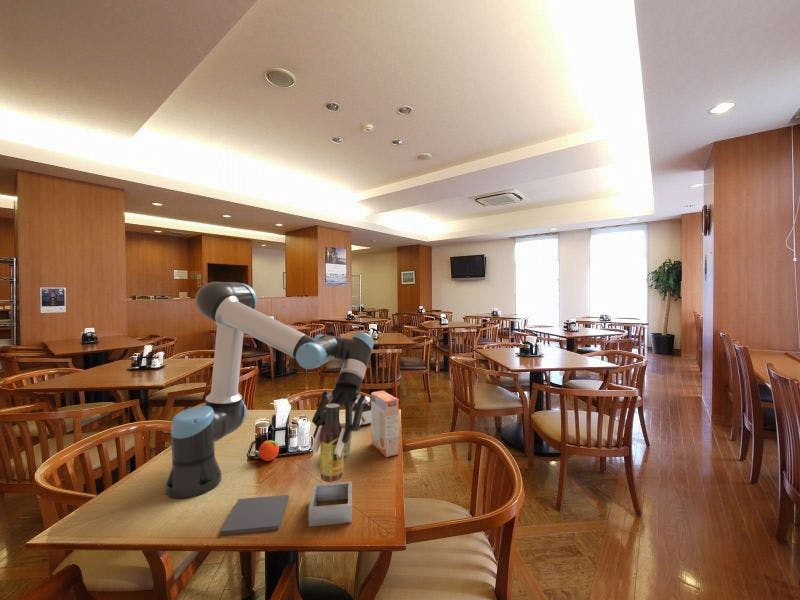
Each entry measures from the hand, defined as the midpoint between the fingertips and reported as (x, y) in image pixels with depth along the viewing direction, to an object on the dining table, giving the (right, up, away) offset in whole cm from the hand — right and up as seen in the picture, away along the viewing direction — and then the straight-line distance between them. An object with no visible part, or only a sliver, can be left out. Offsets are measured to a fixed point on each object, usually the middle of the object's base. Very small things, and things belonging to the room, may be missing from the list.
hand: (325, 452), depth 94 cm
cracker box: (+14, -17, +42) cm, 47 cm away
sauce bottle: (+1, -9, +4) cm, 9 cm away
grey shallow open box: (+1, -18, +4) cm, 18 cm away
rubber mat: (-19, -18, +2) cm, 26 cm away
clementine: (-27, -18, +34) cm, 47 cm away
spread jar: (+2, -17, +67) cm, 69 cm away
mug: (-2, -17, +37) cm, 41 cm away
